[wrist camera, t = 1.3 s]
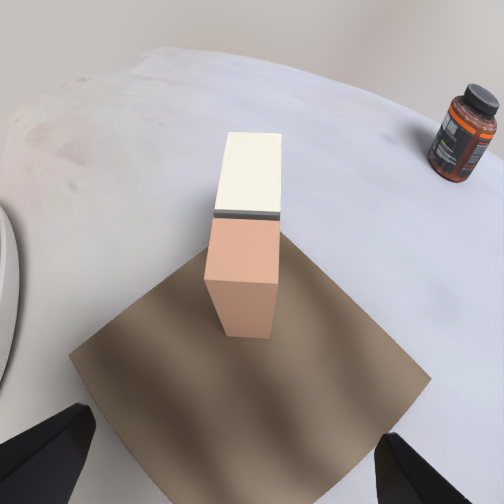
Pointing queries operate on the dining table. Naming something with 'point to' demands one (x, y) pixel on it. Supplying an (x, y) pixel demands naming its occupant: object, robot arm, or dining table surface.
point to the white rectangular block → (250, 177)
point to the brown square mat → (248, 388)
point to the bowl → (7, 287)
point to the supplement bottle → (464, 133)
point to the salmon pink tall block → (244, 274)
